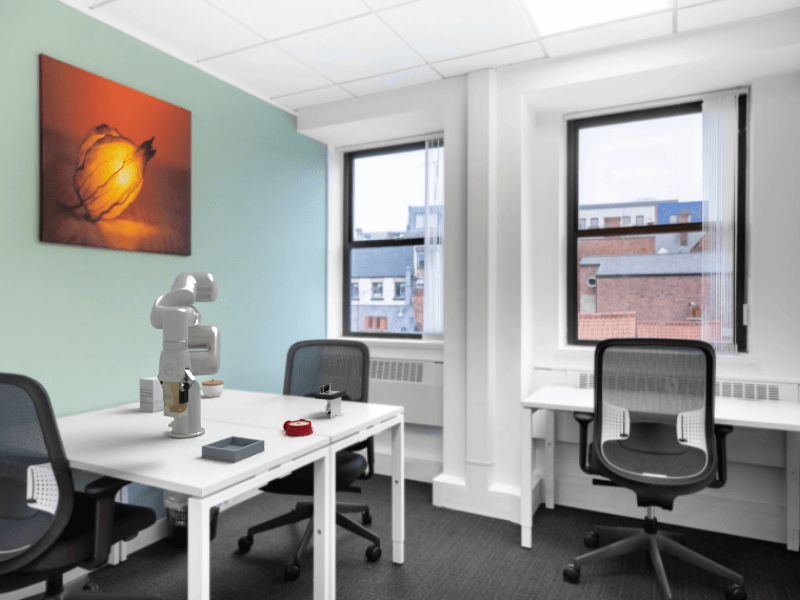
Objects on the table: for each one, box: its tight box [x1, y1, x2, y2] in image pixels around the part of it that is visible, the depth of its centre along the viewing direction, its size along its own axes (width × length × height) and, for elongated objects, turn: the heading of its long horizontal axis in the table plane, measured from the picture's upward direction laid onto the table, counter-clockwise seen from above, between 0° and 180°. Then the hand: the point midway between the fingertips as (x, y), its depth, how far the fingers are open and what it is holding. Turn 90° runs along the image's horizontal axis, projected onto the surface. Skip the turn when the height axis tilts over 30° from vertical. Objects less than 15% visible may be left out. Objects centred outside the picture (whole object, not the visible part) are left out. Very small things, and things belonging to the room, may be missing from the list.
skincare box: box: [163, 379, 188, 418], centre depth 170 cm, size 6×4×12 cm
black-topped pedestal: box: [314, 383, 347, 418], centre depth 232 cm, size 28×26×13 cm
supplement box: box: [139, 375, 164, 413], centre depth 243 cm, size 9×9×15 cm
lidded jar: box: [201, 378, 224, 399], centre depth 276 cm, size 11×11×9 cm
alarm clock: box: [282, 418, 314, 437], centre depth 203 cm, size 10×6×15 cm
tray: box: [201, 435, 265, 463], centre depth 175 cm, size 14×14×4 cm
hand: (175, 401), depth 170 cm, fingers closed on skincare box, 6 cm apart
